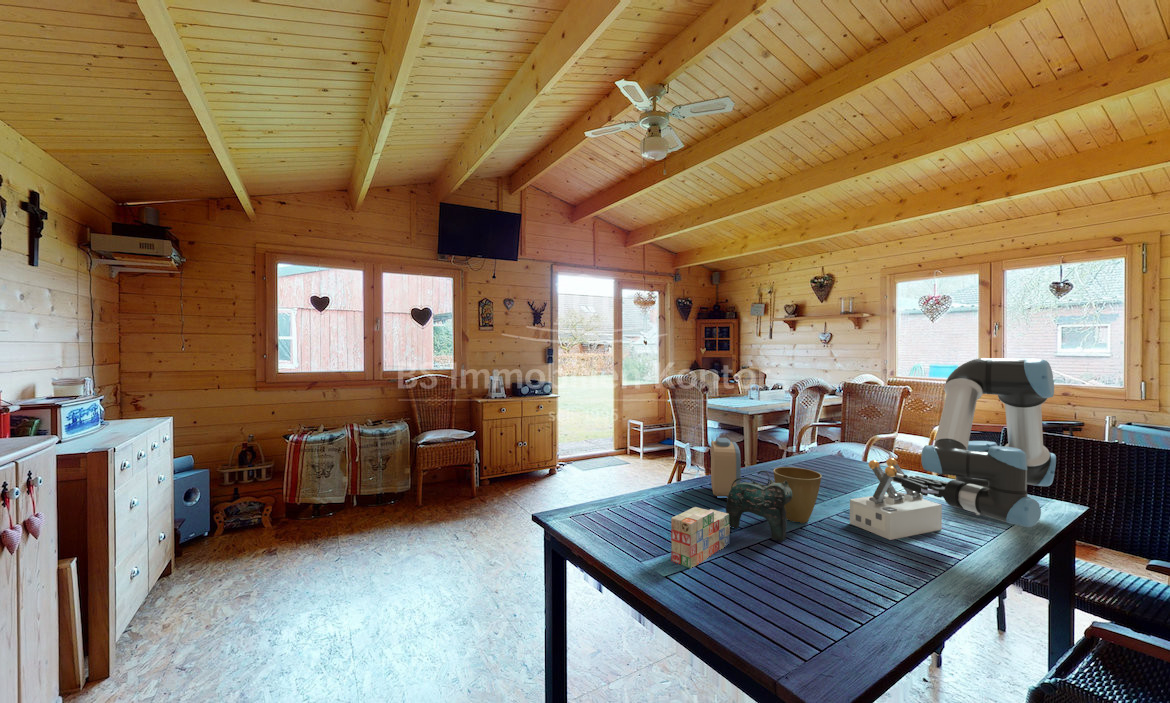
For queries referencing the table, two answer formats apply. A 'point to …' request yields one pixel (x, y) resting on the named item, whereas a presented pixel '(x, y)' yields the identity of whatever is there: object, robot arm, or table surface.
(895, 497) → the lever middle
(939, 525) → the switch box
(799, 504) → the plant pot
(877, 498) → the lever
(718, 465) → the alarm clock
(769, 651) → the table surface
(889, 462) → the lever
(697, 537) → the stack of blocks
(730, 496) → the ceramic cat
